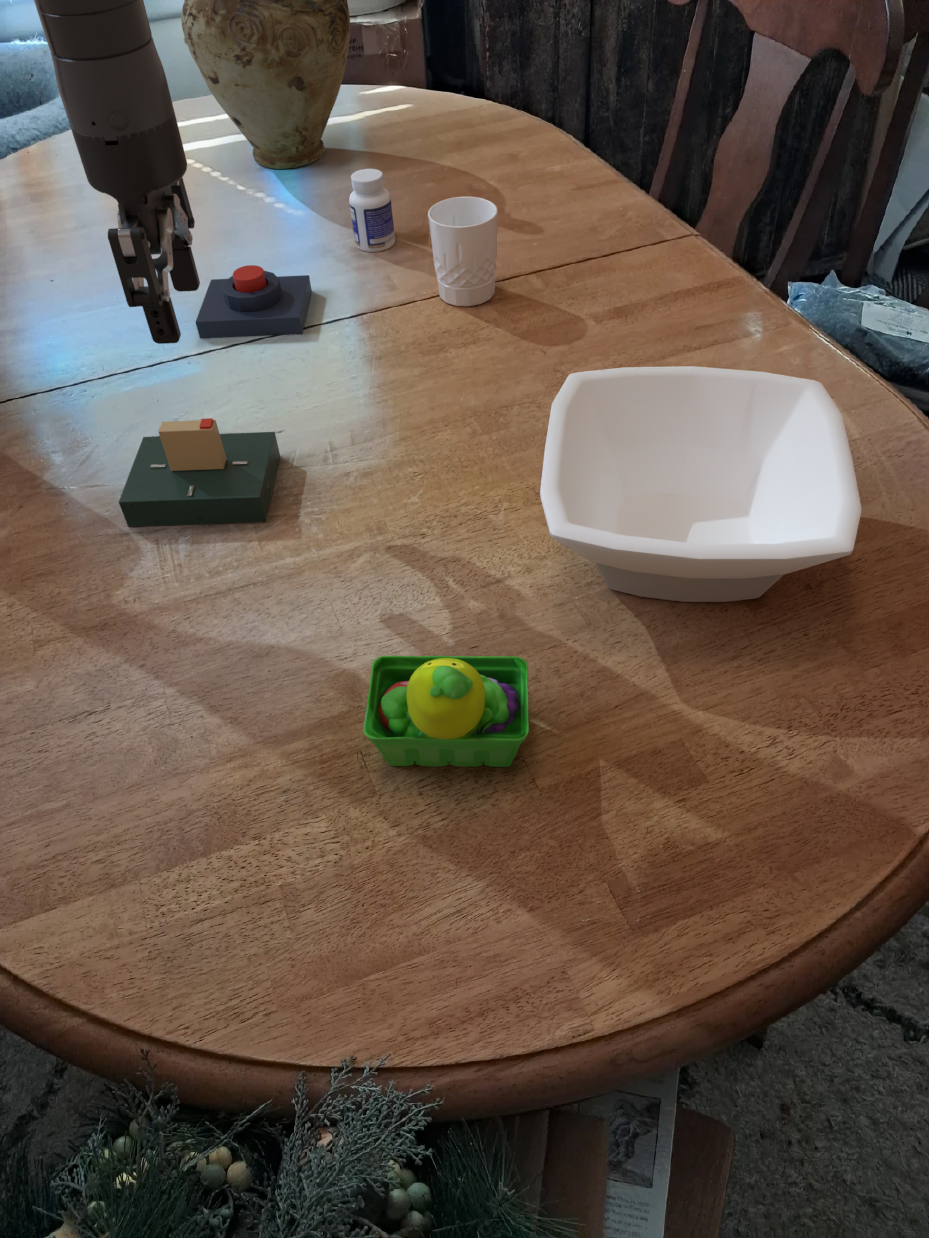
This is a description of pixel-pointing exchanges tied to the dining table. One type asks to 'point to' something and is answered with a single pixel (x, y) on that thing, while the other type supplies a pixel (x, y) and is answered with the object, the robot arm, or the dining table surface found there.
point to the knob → (192, 445)
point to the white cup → (464, 249)
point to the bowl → (698, 479)
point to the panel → (202, 484)
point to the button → (249, 279)
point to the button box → (255, 308)
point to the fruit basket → (448, 709)
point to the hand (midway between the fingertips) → (178, 314)
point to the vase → (272, 69)
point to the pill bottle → (371, 211)
